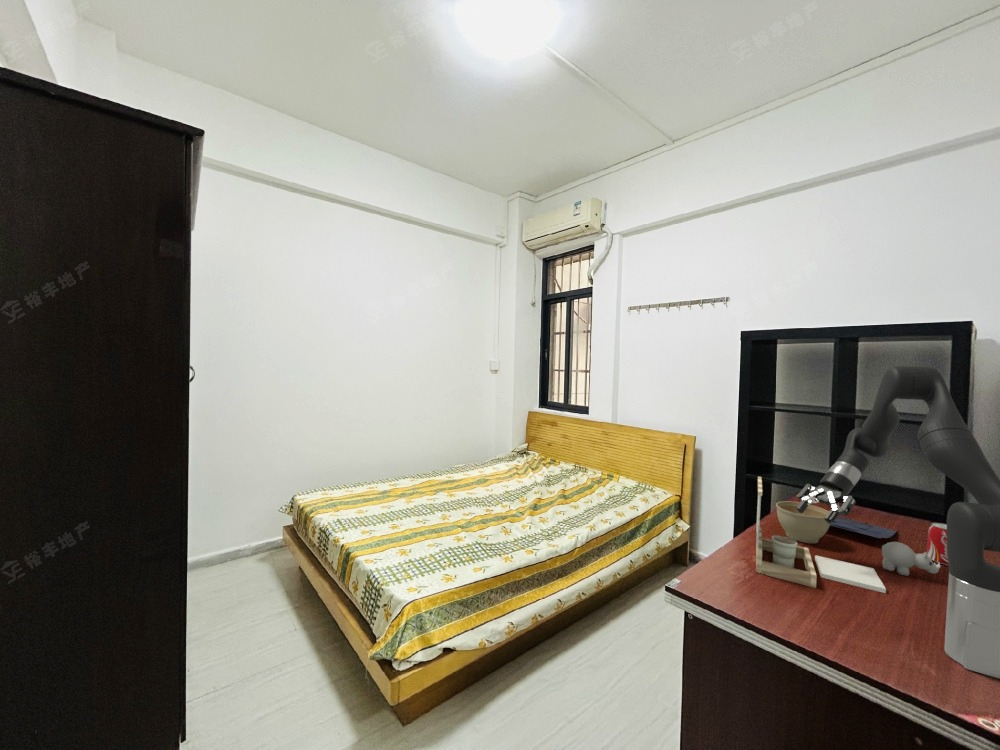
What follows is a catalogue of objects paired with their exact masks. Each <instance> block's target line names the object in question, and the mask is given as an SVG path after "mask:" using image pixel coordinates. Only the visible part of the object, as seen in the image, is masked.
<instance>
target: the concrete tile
mask: <svg viewBox="0 0 1000 750" xmlns="http://www.w3.org/2000/svg"><path fill="white" fill-rule="evenodd" d="M814 561H815V564H816V566H817V569H818V572H819V575H820V578H823V579H825V580H826V579H827V580H830V581H833V582H839V583H843V584H845V585H846V584H847V585H850V586H855V587H859V588H862V589H866V590H871V591H875V592H879V593H882V594H886V593H887V589H886V587H885V585H884V583H883V582H882V580H881V579H880V577H879V576H878V574H877V571H875V568H873V567H871V566H870V567H868V566H865V565H861V564H855V563H851V562H846V561H842V560H839V559H833V558H829V557H825V556H821V555H820V556H819V555H814Z"/></svg>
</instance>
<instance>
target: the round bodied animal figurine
mask: <svg viewBox="0 0 1000 750" xmlns="http://www.w3.org/2000/svg"><path fill="white" fill-rule="evenodd" d="M881 556H882V557H883V559H882V568H883V569H884V570H886V571H890V572H894V571H896V573H897V574H899V575H902V576H906V577H907V576H909V575H910V568H912V567H914V566H915V567H917V568H919V569H922V570H925V571H926V572H927V573H929V574H938V573H939V570H940V568H941V567H942V565H940V563H938V564H937V563H935V562H933V561H932V560H931V559H930V557H928V556H927V551H924V552H923V553H915V552H914V550H913V549H912V548H911V547H910V546H908V545H906V544H905V543H902V542H898V541H890V542H887V543H886V544H883V545H882V546H881Z"/></svg>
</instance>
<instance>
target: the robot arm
mask: <svg viewBox="0 0 1000 750" xmlns="http://www.w3.org/2000/svg"><path fill="white" fill-rule="evenodd" d="M896 399H900V400H919V401H920V400H921V401H923V402H925V403H926V404H927V407H928V410H929V411H928V413H927V415H926V417H925V418H924V420H923V421H922V423H921V425H920V426H919V428H918V430H917V440H918V443H919V445H920V447H921V449H922V451H923V454H924V455H925V457H926V459H927V461H928V462H929V463H930V464H931V465H932V466H933V467H934V468H935V469H936V470H938V471H940V472H941V473H943V475H945V476H946V477H948V478H949V479H951V480H952V481H954V482H955V483H956V484H958V485H959V486H960V487H962V488H963V489H965V490H966V491H967V492H969V494H971V496H972V497H973V499H975V501H976V502H977V503H975V502H968V501H967V502H966V501H965V502H964V501H957V502H955V503H952V504H951V505H950V507H949V509H948V511H947V513H946V514H947V515H946V525H947V557H948V561H949V566H948V582H947V583H948V586H947V596H946V597H947V598H946V599H947V601H946V613H945V615H946V616H945V633H944V647H943V648H944V649H943V650H944V652H945V654H946V655H947V656H948V657H950V658H951V659H952V660H953V661H955V662H957V663H958V664H959V665H962V666H963V668H964V669H966V670H969V671H972V672H975V673H980V674H983V675H985V676H989V677H992V678H995V679H1000V566H998V565H996V564H993V563H991V562H989V561H986V559H985V554H984V553H985V551H990V552H997V553H1000V478H999V476H998V475H997V473H996V472H995V470H994V469H993V467H992V465H991V464H990V462H989V461H988V459H987V457H986V456H985V454H984V452H983V450H982V448H981V446H980V445H979V443H978V441H977V439H976V438H975V436H974V434H973V433H972V432H971V430H970V428H969V427H968V425H967V424H966V422H965V421H964V419H963V417H962V415H961V414H960V412H959V410H958V408H957V406H956V404H955V402H954V400H953V398H952V395H951V393H950V389H949V388H948V386H947V384H946V380H945V379H944V377H943V375H942V373H941V372H940V371H939V370H938V369H937V368H935V367H932V366H926V365H922V366H921V365H918V366H917V365H915V366H914V365H913V366H912V365H898V366H890V367H889V368H888V369H887V370H886V371H885V372H884V374H883V376H882V377H881V380H880V383H879V386H878V389H877V392H876V396H875V399H874V402H873V406H872V409H871V410H870V413H869V414H868V416H867V417H866V419H865V421H864V422H863V423H862V427H861V428H860V427H857V428H854V429H851V431H849V433H848V435H847V437H846V440H845V441H846V442H845V446H844V449H843V452H842V453H841V455H839V457H838V458H837V460H836V461H835V463H834V464H832V466H830V468H829V469H828V470H827V471H826V473H825V475H824V476H823V477H822V478H821V480H820V482H819V484H818V486H816V487H815V486H812V485H811V484H810V483H806V484H805V485H804V486H803V488H802V489H801V490H800V491H799V493H798V494H797V495H796V496H797V498H798V499H799V500H800V502H799V504H798V506H797V510H798V512H799V513H803V512H804V511H805V509H806V508H807V507H808V505H812V504H818V503H821V504H826V505H827V506H831V508H832V509H830V510H828V511H829V513H828V514H827V515H826V517H825V521H826V522H827V523H829V524H830V523H831V522H834V520H835V519H836V518H837V516H843V517H848V516H849V514H850V513H851V511H852V510H853V508H854V507H855V505H856V500H855V499H854V497H853V496H852V495H849V494H850V493H851V491H852V490H854V487H855V486H856V485H857V483H858V482H859V480H860V478H861V477H862V475H863V473H864V472H865V471H866V469H867V468H868V466H869V464H870V462H869V461H870V460H869V459H868V457H866V456H865V455H868V456H870V457H872V458H882V457H884V456H886V455H887V453H888V451H889V450H890V446H891V436H892V434H893V433H894V432H895V430H896V428H898V426H899V424H900V419H901V417H900V413H899V412H898V410H897V409H896V406H895V405H894V403H893V402H895V400H896ZM861 452H862V453H861ZM863 453H864V454H865V455H864V454H863ZM814 497H815V498H814ZM842 502H843V504H842V505H841V506H840V505H839V503H842Z"/></svg>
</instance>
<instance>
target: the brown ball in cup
mask: <svg viewBox="0 0 1000 750" xmlns="http://www.w3.org/2000/svg"><path fill="white" fill-rule="evenodd" d="M771 540H772V542H773V544H772V552H771V553H772V563H774V564H778V565H782V566H786V567H790V568H794V569H795V559H796V557H795V556H796V547H797V546H798V541H797V540H794V539H792V538H790V537H788V536H782V535H772V536H771Z"/></svg>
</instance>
